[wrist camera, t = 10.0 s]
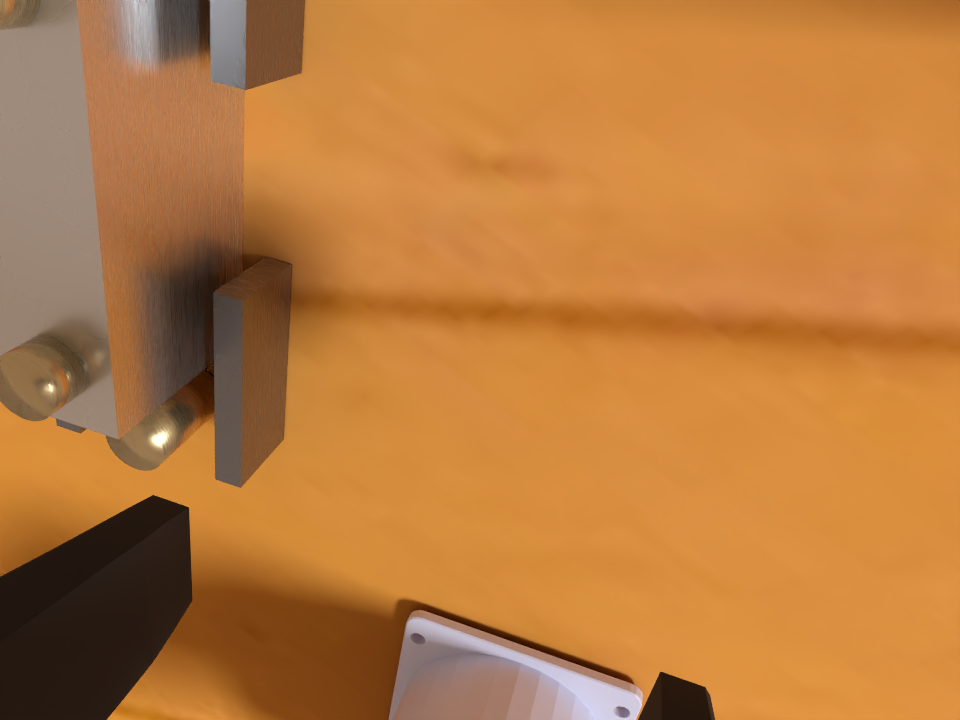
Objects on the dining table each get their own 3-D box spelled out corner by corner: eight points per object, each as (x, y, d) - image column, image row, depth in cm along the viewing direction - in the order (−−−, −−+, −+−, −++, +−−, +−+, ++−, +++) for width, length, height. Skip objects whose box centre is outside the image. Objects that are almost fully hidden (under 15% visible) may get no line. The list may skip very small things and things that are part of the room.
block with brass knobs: (243, 336, 22) (88, 464, 17) (154, 309, 23) (-27, 424, 17) (249, -93, 17) (16, -112, 11) (129, -118, 17) (-152, -149, 12)
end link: (283, 441, 24) (231, 501, 21) (114, 386, 24) (44, 437, 22) (292, 264, 20) (231, 309, 18) (98, 208, 21) (14, 244, 19)
